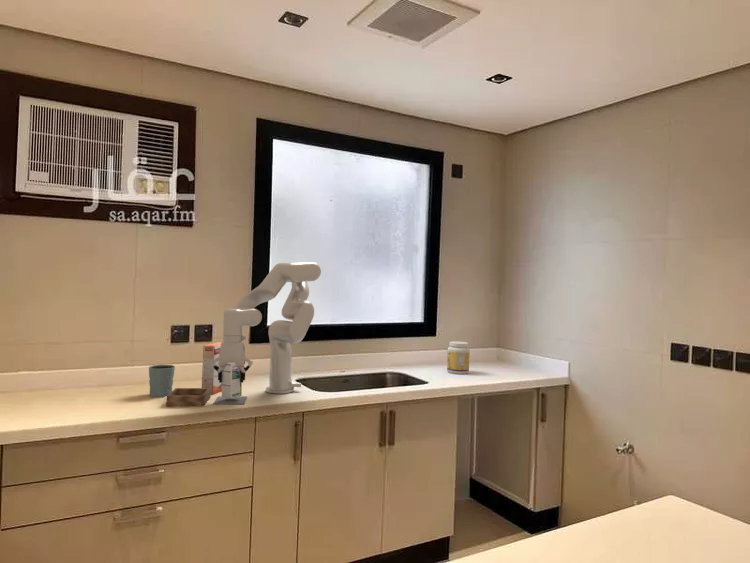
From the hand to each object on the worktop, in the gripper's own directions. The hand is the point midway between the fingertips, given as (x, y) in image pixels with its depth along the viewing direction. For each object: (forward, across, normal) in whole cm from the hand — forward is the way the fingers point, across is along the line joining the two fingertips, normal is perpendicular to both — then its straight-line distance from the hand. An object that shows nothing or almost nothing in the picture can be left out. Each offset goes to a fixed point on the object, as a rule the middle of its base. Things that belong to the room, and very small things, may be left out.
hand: (231, 381), depth 212 cm
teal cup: (+8, +30, -11) cm, 33 cm away
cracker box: (+8, +9, -18) cm, 22 cm away
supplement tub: (+9, -115, -63) cm, 131 cm away
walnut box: (+8, +16, +2) cm, 18 cm away
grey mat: (+8, 0, 0) cm, 8 cm away
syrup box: (+6, 0, 0) cm, 6 cm away
